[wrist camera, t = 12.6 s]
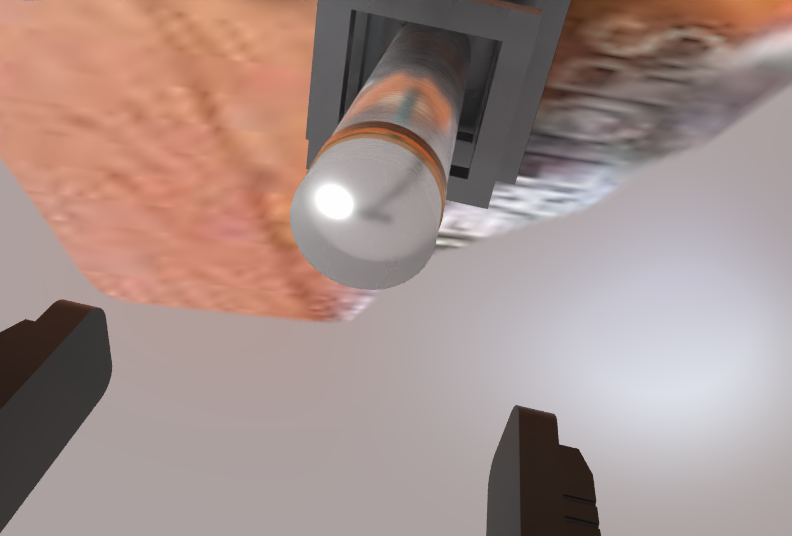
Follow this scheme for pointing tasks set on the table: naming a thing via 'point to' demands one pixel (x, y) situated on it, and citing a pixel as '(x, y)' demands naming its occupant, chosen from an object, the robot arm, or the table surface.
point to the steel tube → (386, 165)
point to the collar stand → (486, 84)
